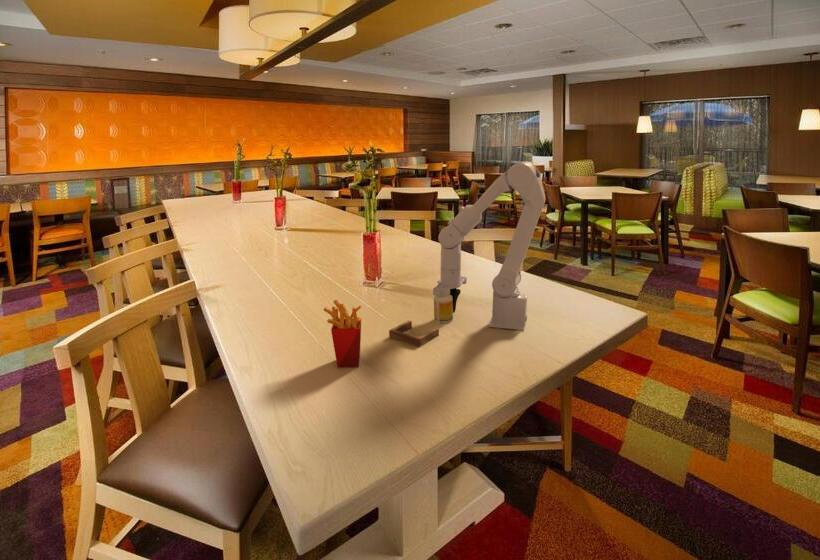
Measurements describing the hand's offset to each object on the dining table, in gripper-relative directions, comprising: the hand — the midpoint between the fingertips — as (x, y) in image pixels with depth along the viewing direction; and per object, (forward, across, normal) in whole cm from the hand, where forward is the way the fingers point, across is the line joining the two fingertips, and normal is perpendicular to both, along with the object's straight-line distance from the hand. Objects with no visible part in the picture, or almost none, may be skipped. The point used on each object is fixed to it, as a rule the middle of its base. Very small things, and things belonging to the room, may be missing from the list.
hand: (449, 312), depth 140 cm
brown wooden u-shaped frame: (+1, +18, 0) cm, 18 cm away
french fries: (+2, +40, -3) cm, 40 cm away
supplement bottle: (+1, +3, 0) cm, 4 cm away
